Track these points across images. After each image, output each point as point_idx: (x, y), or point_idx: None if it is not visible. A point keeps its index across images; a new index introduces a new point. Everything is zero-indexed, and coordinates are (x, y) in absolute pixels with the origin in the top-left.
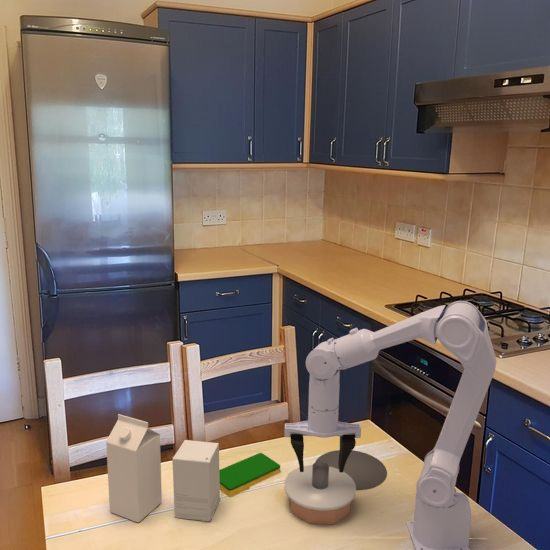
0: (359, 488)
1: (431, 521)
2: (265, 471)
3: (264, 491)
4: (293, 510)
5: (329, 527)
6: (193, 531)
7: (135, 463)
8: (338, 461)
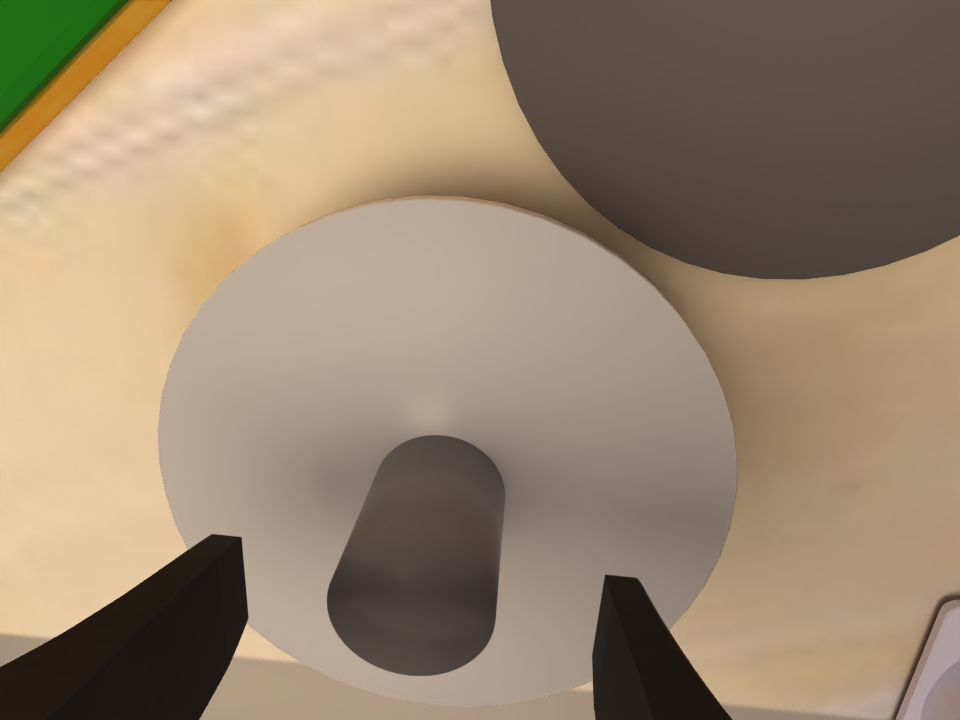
0: (800, 258)
1: None
2: (26, 72)
3: (98, 227)
4: None
5: None
6: None
7: None
8: (612, 602)
